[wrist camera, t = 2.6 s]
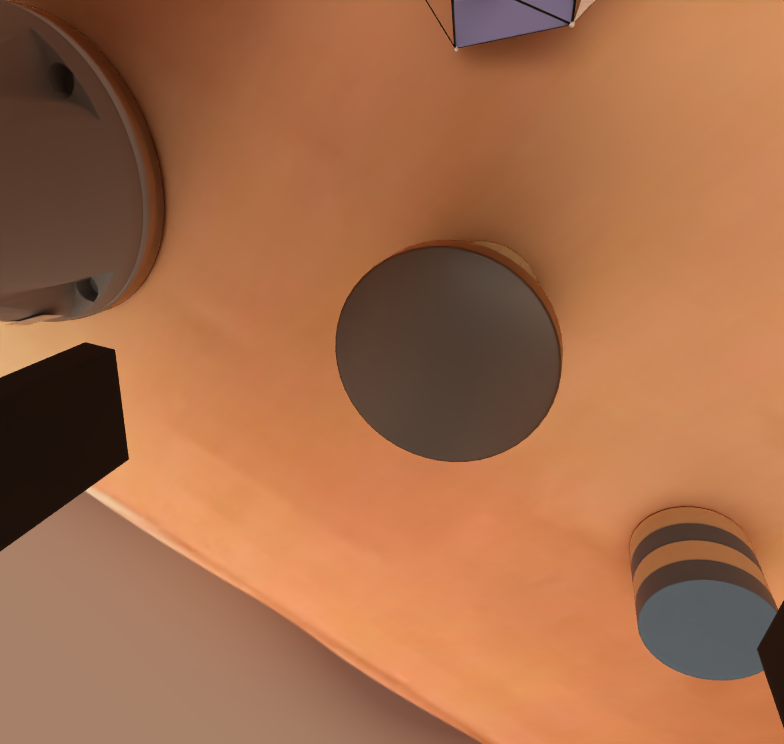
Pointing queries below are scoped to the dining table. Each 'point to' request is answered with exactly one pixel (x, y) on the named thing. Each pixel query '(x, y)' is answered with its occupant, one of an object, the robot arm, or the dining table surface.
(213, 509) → the dining table surface
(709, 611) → the chip stack
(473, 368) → the walnut chip
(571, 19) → the geometric puzzle
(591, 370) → the dining table surface
